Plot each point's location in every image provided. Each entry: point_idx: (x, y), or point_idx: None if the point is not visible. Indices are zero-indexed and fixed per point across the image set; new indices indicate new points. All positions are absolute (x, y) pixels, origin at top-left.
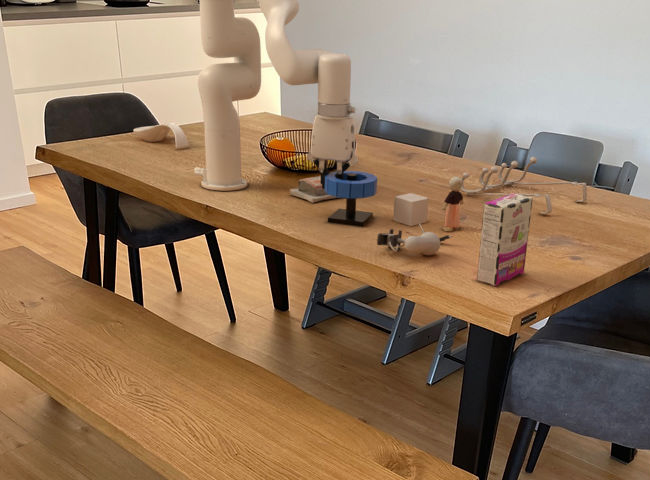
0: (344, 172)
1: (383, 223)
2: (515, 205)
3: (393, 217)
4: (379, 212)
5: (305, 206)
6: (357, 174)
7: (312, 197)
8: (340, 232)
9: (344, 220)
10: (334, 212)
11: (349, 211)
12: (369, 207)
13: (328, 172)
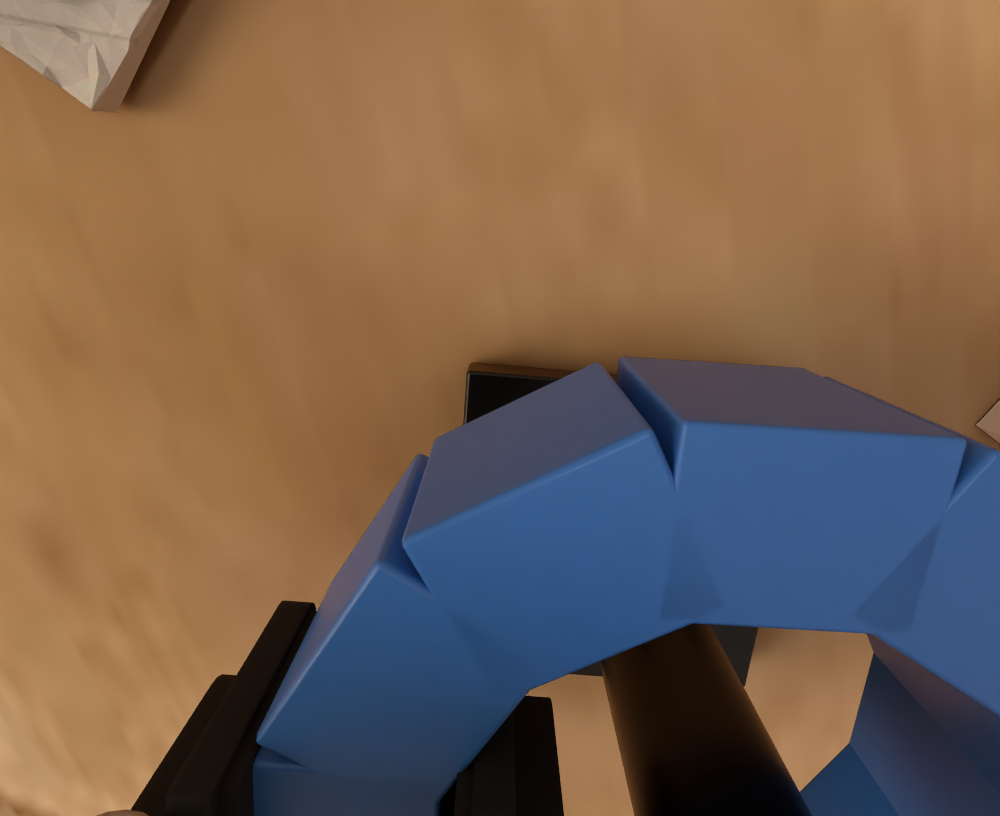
0: (541, 634)
1: None
2: None
3: (997, 435)
4: (844, 205)
5: (104, 246)
6: (821, 621)
7: (64, 46)
8: (592, 806)
9: (589, 674)
10: None
11: None
12: (728, 44)
13: (248, 806)
